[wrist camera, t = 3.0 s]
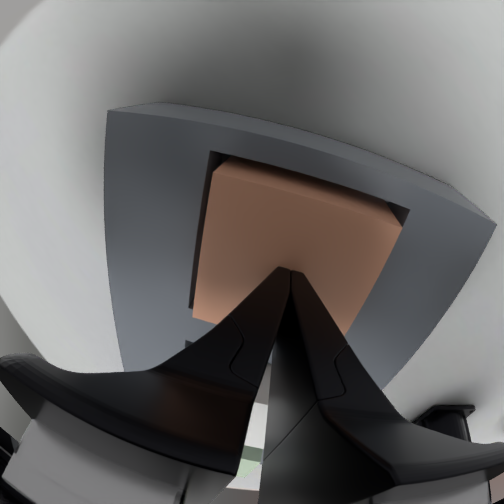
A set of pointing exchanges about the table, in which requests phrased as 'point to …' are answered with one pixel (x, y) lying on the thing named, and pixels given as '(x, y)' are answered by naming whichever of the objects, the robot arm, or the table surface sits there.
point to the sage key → (249, 460)
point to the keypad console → (193, 219)
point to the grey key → (259, 413)
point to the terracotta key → (289, 238)
